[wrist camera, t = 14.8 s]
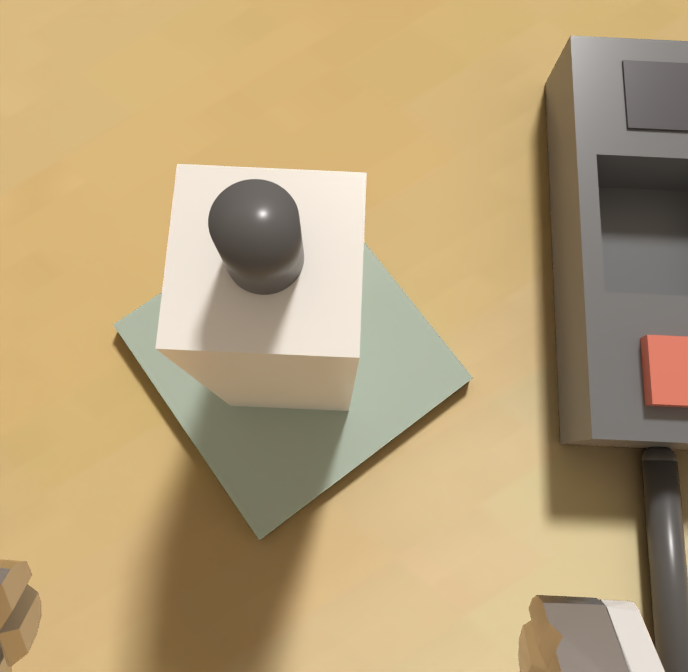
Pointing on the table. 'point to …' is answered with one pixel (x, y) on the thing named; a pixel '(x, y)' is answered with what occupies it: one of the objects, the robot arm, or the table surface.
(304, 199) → the plug
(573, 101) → the power strip
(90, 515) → the table surface
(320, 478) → the mat
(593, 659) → the robot arm
